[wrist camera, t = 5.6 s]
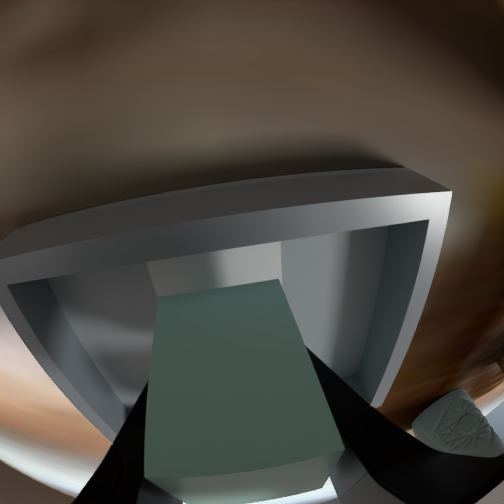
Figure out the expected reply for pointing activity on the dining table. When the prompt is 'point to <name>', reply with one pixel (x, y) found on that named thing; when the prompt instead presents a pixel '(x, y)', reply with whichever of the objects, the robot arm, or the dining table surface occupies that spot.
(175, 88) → the dining table surface
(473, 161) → the dining table surface
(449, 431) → the grey green cylinder
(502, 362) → the food container
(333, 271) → the tray
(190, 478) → the block
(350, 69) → the dining table surface
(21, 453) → the dining table surface
